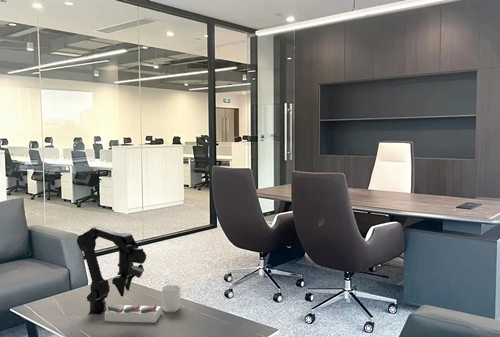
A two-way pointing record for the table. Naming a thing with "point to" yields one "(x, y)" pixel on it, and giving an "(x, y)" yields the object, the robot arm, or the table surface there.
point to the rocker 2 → (131, 308)
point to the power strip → (133, 315)
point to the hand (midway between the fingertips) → (125, 293)
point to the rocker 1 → (115, 308)
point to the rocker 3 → (148, 309)
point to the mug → (171, 298)
